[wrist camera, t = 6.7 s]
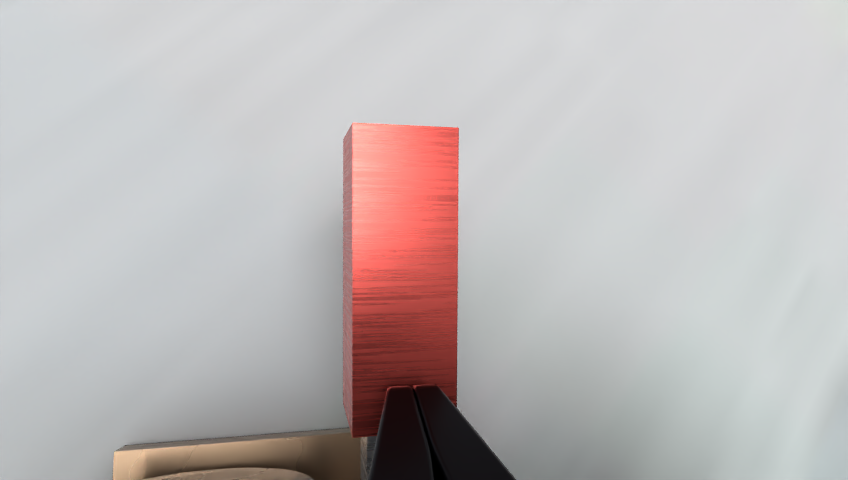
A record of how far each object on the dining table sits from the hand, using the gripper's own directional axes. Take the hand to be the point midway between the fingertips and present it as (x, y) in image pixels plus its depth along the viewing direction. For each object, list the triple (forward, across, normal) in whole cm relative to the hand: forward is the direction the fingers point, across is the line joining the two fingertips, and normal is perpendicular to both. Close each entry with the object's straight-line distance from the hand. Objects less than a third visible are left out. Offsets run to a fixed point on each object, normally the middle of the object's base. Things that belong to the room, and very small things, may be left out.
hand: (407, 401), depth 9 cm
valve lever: (-3, 0, +6) cm, 6 cm away
